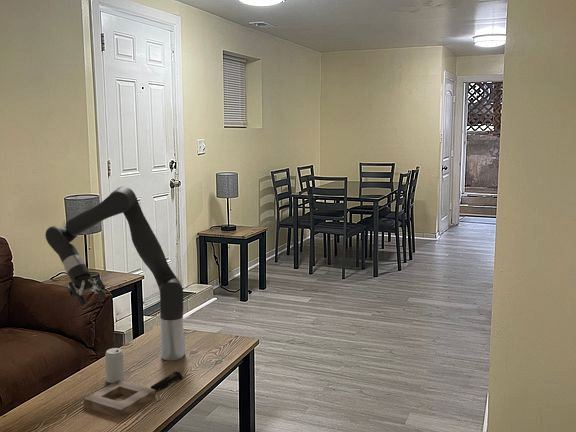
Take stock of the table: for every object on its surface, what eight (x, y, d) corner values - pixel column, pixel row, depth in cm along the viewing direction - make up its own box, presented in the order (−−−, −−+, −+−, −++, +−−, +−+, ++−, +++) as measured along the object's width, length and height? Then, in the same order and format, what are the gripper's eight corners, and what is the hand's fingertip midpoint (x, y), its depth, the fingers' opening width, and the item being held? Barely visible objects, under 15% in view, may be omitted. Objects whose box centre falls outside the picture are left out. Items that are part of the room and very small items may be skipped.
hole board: (119, 387, 212) (119, 379, 211) (155, 397, 204) (155, 389, 204) (83, 406, 197) (83, 398, 196) (121, 418, 189) (120, 409, 189)
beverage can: (118, 385, 214) (117, 354, 212) (103, 383, 215) (101, 352, 213) (127, 378, 220) (126, 348, 218) (111, 376, 221) (110, 346, 219)
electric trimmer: (147, 392, 209) (147, 384, 208) (175, 376, 222) (175, 368, 222) (155, 395, 207) (155, 387, 206) (183, 378, 220) (183, 371, 220)
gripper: (64, 266, 220) (82, 301, 216) (95, 260, 232) (113, 293, 227) (56, 277, 224) (74, 311, 219) (87, 271, 236) (105, 303, 231)
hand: (94, 302), depth 223 cm, fingers open, 8 cm apart
